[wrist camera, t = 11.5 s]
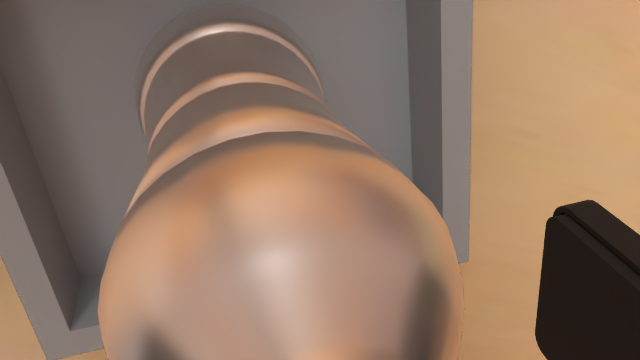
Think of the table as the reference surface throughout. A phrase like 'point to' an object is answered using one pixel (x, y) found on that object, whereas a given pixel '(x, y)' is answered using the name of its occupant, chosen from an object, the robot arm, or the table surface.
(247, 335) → the plastic bottle
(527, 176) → the table surface
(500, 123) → the table surface
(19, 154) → the bin
